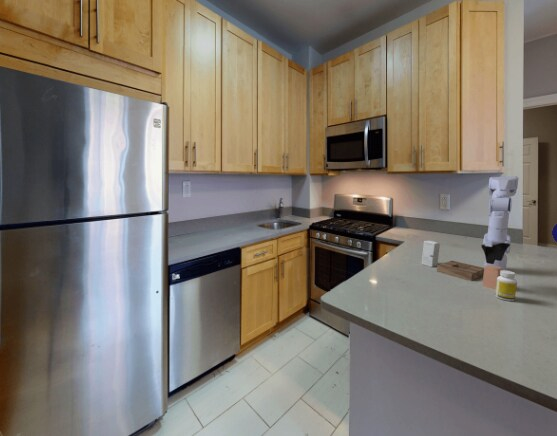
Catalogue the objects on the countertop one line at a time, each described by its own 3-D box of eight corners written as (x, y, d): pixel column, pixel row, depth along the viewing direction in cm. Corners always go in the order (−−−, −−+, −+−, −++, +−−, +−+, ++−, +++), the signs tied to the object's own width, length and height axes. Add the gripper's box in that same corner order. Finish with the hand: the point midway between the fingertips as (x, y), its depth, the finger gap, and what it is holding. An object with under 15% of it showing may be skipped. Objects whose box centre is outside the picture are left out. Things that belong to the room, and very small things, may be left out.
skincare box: (421, 263, 133) (422, 240, 131) (427, 262, 134) (428, 240, 133) (432, 267, 127) (434, 243, 125) (438, 266, 129) (440, 242, 127)
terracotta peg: (487, 283, 106) (489, 264, 105) (500, 287, 103) (502, 267, 102) (482, 285, 104) (484, 266, 103) (495, 289, 100) (498, 269, 99)
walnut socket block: (451, 266, 128) (452, 260, 128) (485, 274, 117) (486, 268, 116) (436, 271, 121) (437, 265, 121) (471, 280, 109) (471, 274, 109)
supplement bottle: (518, 302, 90) (522, 275, 88) (500, 300, 91) (503, 274, 89) (508, 295, 95) (511, 270, 94) (491, 294, 96) (494, 269, 95)
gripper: (503, 231, 93) (499, 267, 95) (517, 227, 101) (513, 261, 103) (480, 228, 99) (476, 262, 101) (495, 225, 107) (492, 257, 108)
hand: (494, 261), depth 102 cm, fingers open, 7 cm apart
